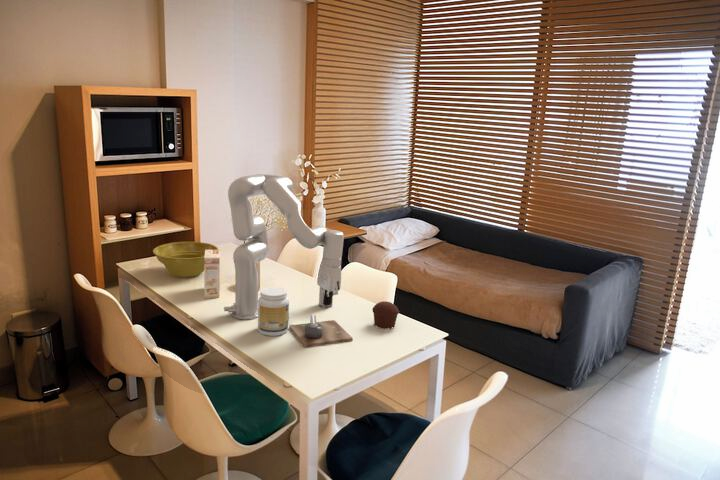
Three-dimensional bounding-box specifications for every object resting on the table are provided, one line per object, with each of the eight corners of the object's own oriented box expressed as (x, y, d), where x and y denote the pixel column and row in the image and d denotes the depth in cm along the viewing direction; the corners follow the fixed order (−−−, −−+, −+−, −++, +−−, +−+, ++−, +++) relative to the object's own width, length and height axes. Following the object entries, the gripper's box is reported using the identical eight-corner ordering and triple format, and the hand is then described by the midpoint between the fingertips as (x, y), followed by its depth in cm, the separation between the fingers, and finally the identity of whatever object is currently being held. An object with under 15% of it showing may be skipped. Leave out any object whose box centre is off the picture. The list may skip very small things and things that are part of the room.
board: (304, 347, 200) (304, 344, 200) (289, 328, 216) (289, 325, 216) (352, 340, 208) (352, 337, 208) (334, 322, 225) (334, 319, 225)
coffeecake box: (219, 298, 245) (219, 257, 240) (203, 298, 243) (203, 257, 239) (220, 287, 259) (220, 249, 254) (205, 287, 257) (204, 249, 253)
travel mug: (331, 309, 240) (333, 267, 235) (317, 307, 241) (319, 265, 237) (334, 304, 246) (336, 263, 241) (320, 302, 247) (322, 261, 243)
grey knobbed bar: (322, 338, 205) (323, 328, 204) (304, 338, 204) (305, 328, 203) (321, 322, 221) (321, 312, 220) (304, 321, 220) (304, 312, 219)
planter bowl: (181, 288, 254) (180, 261, 251) (140, 274, 271) (139, 248, 268) (231, 273, 281) (231, 249, 278) (190, 261, 298) (190, 238, 294)
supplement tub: (292, 334, 211) (294, 294, 207) (263, 339, 205) (264, 298, 201) (281, 323, 221) (282, 284, 217) (253, 327, 215) (254, 288, 211)
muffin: (365, 324, 226) (367, 302, 223) (381, 317, 234) (383, 296, 232) (388, 332, 218) (389, 310, 216) (403, 325, 227) (405, 303, 224)
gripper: (313, 256, 211) (309, 299, 216) (335, 268, 200) (331, 312, 205) (328, 255, 216) (323, 296, 220) (350, 266, 205) (346, 309, 210)
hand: (327, 304), depth 213 cm, fingers closed
